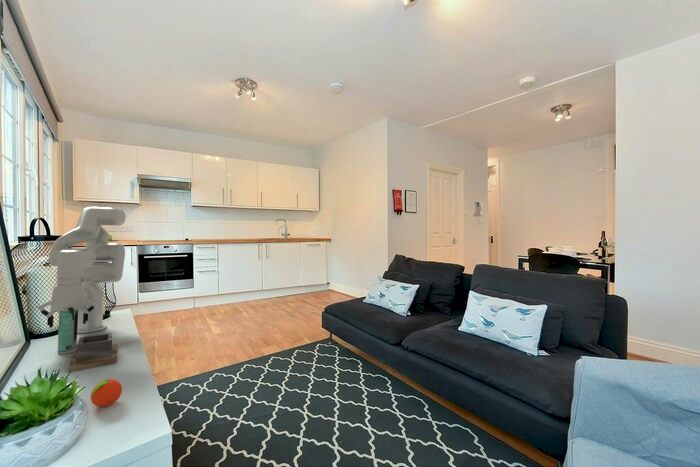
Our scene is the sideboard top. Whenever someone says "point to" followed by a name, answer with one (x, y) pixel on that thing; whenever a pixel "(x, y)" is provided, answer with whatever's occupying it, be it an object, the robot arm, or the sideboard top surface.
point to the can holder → (94, 352)
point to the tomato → (106, 393)
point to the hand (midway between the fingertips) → (68, 324)
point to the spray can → (67, 330)
